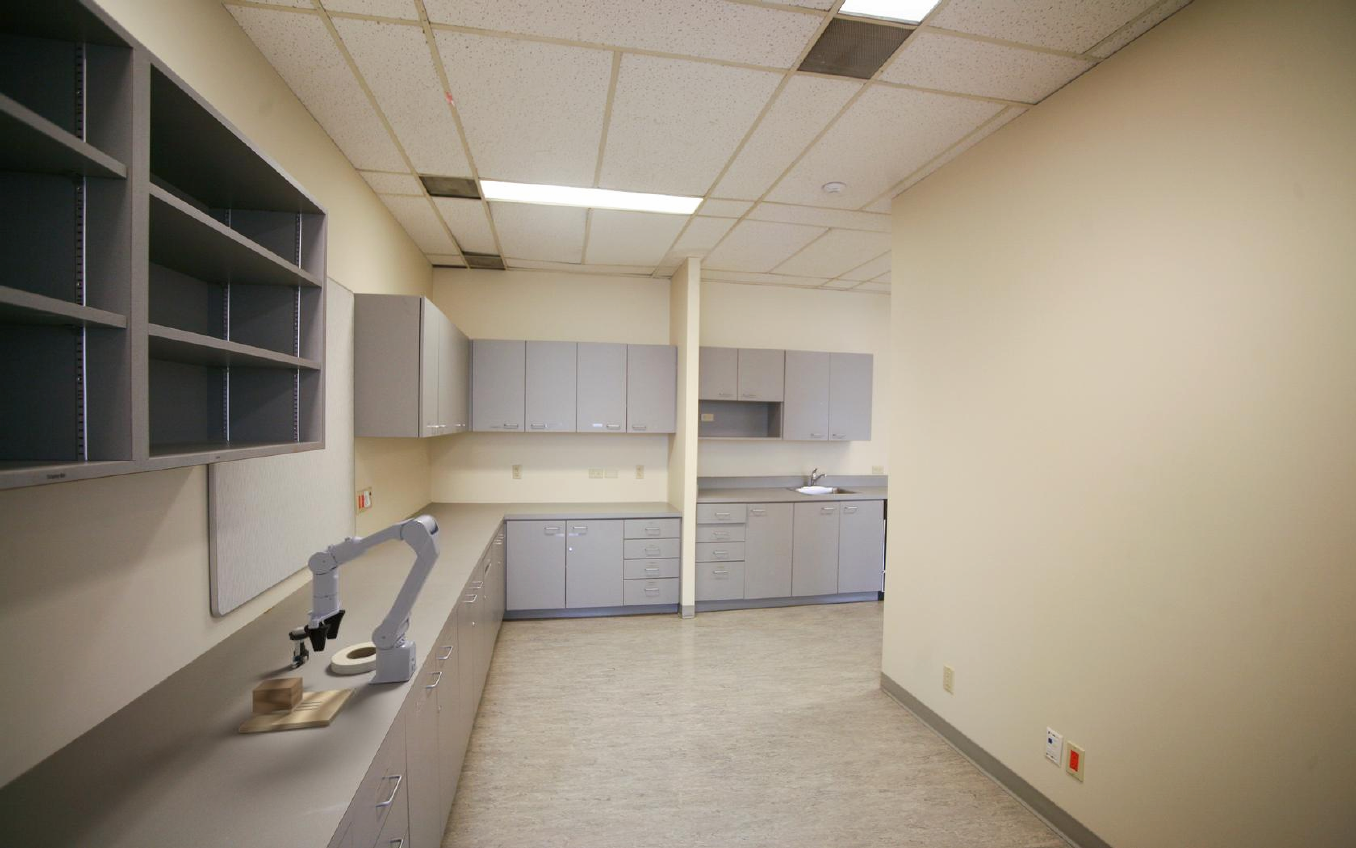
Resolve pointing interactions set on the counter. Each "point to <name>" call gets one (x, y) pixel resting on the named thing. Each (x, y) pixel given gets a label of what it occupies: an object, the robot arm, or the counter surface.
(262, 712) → the block
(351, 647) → the roll of tape
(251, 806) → the counter surface
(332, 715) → the board
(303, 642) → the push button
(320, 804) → the counter surface
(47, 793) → the counter surface
